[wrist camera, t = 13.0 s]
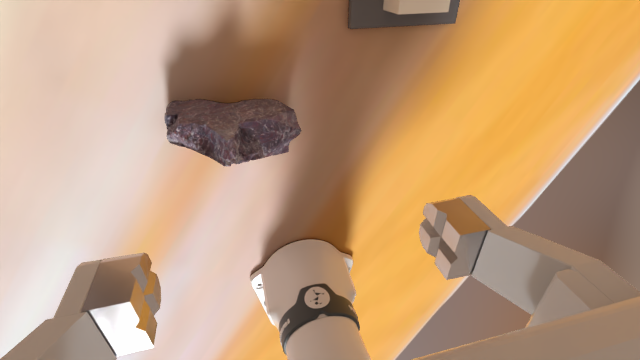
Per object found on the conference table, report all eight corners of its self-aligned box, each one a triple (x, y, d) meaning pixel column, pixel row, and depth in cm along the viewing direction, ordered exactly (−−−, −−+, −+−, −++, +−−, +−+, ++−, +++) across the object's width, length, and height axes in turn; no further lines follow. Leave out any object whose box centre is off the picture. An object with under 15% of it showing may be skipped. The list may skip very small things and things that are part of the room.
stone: (313, 136, 35) (157, 125, 30) (302, 183, 39) (159, 180, 34) (293, 97, 43) (167, 83, 38) (285, 139, 47) (168, 130, 42)
